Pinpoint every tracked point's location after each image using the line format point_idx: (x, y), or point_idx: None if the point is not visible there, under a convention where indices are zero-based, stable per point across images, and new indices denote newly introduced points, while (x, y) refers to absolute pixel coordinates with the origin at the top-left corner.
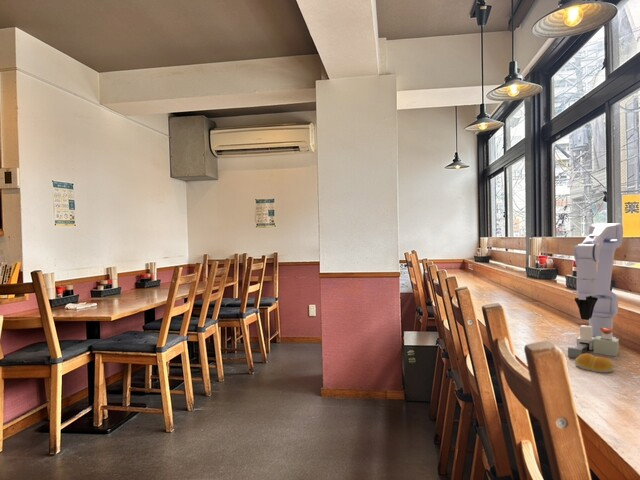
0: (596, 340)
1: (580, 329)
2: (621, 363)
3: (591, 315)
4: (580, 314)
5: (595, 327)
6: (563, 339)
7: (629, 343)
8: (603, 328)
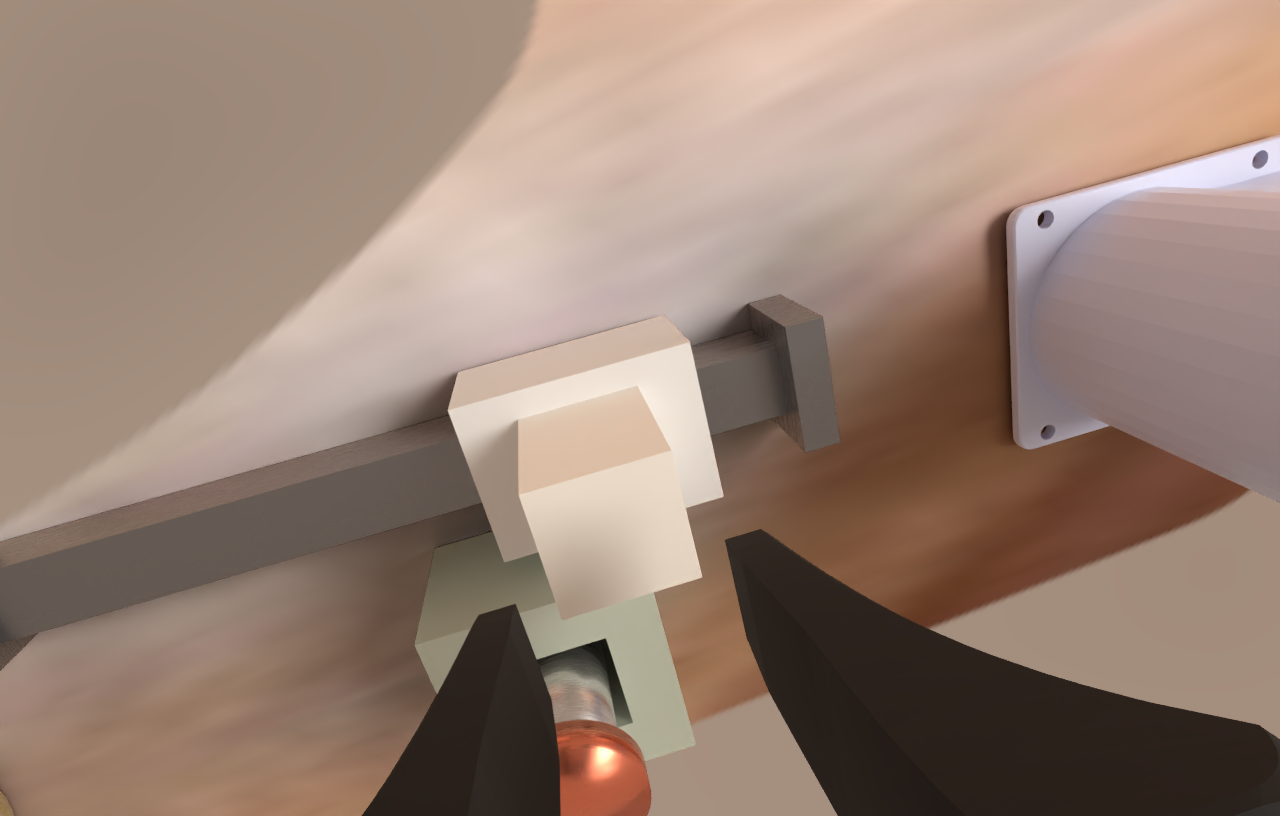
0: (426, 660)
1: (520, 475)
2: (291, 812)
3: (773, 690)
4: (445, 684)
5: (1154, 337)
6: (796, 29)
7: (1129, 517)
8: (564, 784)
